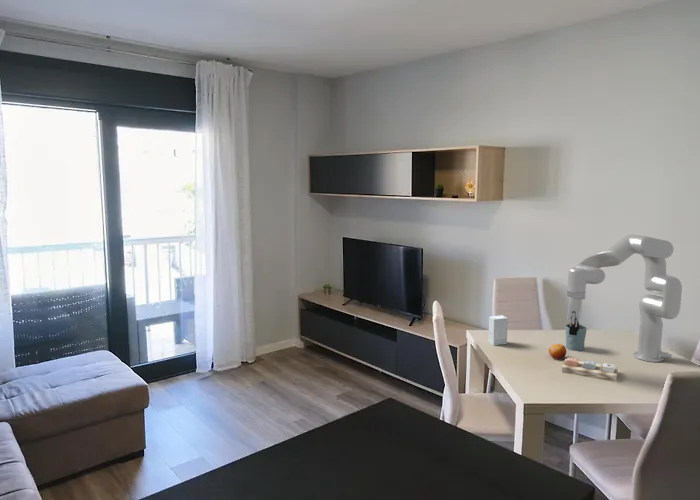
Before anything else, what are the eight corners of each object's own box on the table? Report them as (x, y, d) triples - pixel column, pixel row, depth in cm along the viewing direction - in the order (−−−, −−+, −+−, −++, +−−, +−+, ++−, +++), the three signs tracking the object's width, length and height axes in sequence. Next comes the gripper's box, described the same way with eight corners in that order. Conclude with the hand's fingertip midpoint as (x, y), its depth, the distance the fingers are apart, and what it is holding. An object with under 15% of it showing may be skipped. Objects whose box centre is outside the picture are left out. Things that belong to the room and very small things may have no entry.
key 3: (577, 363, 228) (578, 358, 227) (576, 367, 224) (577, 361, 223) (567, 362, 230) (567, 356, 230) (565, 365, 226) (566, 359, 226)
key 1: (614, 369, 220) (614, 364, 220) (613, 373, 216) (614, 367, 216) (602, 368, 222) (603, 362, 222) (602, 371, 218) (602, 365, 218)
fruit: (571, 358, 237) (563, 344, 236) (556, 365, 238) (548, 351, 238) (568, 352, 244) (560, 339, 244) (553, 359, 246) (545, 346, 246)
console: (617, 372, 223) (617, 367, 223) (616, 381, 213) (616, 376, 212) (565, 363, 234) (565, 358, 234) (561, 371, 224) (562, 366, 223)
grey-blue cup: (581, 345, 259) (582, 323, 258) (588, 351, 250) (590, 329, 248) (561, 344, 260) (562, 323, 259) (568, 351, 250) (569, 328, 249)
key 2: (595, 366, 224) (596, 361, 223) (595, 370, 220) (595, 364, 220) (584, 364, 226) (585, 359, 226) (583, 368, 222) (584, 362, 222)
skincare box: (501, 341, 267) (502, 314, 265) (507, 344, 261) (508, 317, 259) (487, 342, 265) (488, 315, 263) (493, 345, 260) (494, 318, 258)
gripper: (569, 290, 231) (567, 326, 234) (564, 297, 217) (562, 336, 219) (587, 291, 228) (584, 329, 230) (583, 299, 213) (580, 339, 215)
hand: (573, 332), depth 225 cm, fingers open, 6 cm apart
